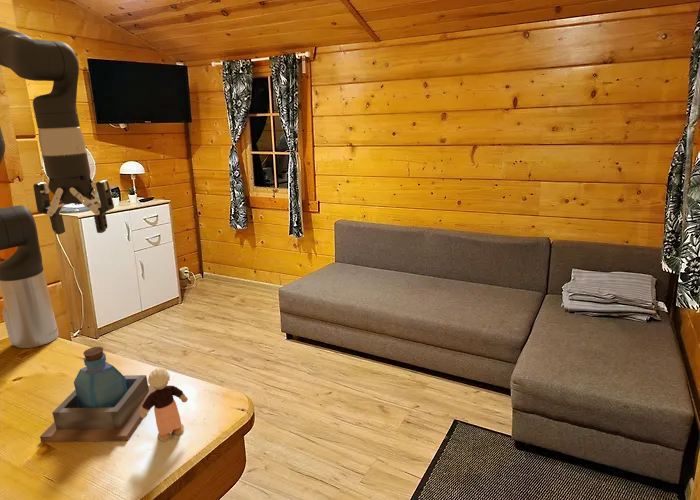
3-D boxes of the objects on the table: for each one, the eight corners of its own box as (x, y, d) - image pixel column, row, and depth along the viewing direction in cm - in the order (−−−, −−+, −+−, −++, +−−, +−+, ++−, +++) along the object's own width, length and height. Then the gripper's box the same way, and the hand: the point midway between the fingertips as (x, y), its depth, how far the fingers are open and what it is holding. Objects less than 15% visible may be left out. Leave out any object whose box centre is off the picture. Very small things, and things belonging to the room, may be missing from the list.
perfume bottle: (97, 423, 84) (84, 363, 81) (80, 411, 88) (67, 353, 84) (130, 406, 89) (119, 348, 86) (113, 395, 93) (101, 339, 89)
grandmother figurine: (182, 418, 87) (171, 356, 83) (194, 427, 84) (184, 363, 81) (141, 442, 81) (128, 376, 77) (153, 451, 79) (141, 384, 75)
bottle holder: (41, 441, 82) (35, 419, 81) (88, 390, 96) (84, 371, 95) (127, 440, 81) (122, 418, 80) (162, 389, 96) (159, 370, 94)
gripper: (110, 148, 96) (124, 227, 101) (40, 151, 96) (58, 229, 101) (90, 152, 89) (106, 237, 94) (15, 155, 89) (34, 238, 94)
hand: (81, 232), depth 97 cm, fingers open, 8 cm apart
